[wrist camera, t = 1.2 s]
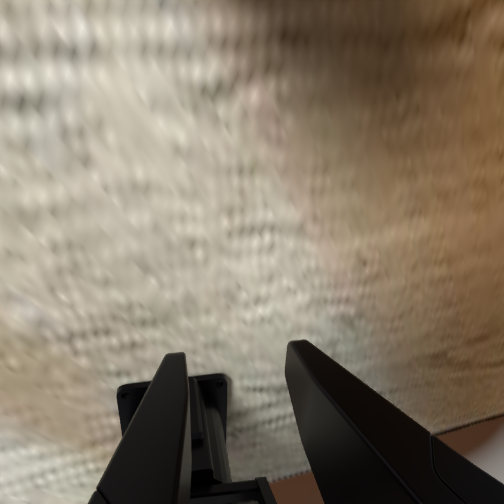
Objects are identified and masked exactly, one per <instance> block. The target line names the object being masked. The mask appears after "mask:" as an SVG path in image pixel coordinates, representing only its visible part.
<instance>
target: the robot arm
mask: <svg viewBox="0 0 504 504" xmlns="http://www.w3.org/2000/svg"><path fill="white" fill-rule="evenodd" d="M285 377H286V382H287V386H288V390H289V394H290V398H291V402H292V406H293V410H294V414H295V418H296V422H297V426H298V430H299V434H300V437H301V441H302V444H303V447H304V450H305V453H306V455H307V458H308V461H309V463H310V466H311V469H312V471H313V474H314V477H315V479H316V482H317V485H318V487H319V490H320V493H321V495H322V498H323V501H324V504H504V484H503V483H501V482H499V481H498V480H497V479H495V478H494V477H492V476H491V475H489V474H488V473H486V472H485V471H483V470H482V469H480V468H479V467H477V466H476V465H474V464H473V463H471V462H470V461H469V460H467V459H466V458H464V457H463V456H462V455H460V454H459V453H458V452H456V451H455V450H453V449H452V448H451V447H449V446H448V445H447V444H445V443H444V442H443V441H441V440H440V439H439V438H437V437H436V436H434V435H433V436H431V433H430V432H429V431H428V430H426V429H425V428H424V427H422V426H421V425H420V424H418V423H417V422H416V421H414V420H413V419H412V418H410V417H409V416H408V415H406V414H405V413H404V412H402V411H401V410H400V409H398V408H397V407H396V406H394V405H393V404H392V403H390V402H389V401H388V400H386V399H385V398H384V397H382V396H381V395H380V394H378V393H377V392H376V391H374V390H373V389H372V388H370V387H369V386H368V385H366V384H365V383H364V382H362V381H361V380H360V379H358V378H357V377H356V376H354V375H353V374H352V373H350V372H349V371H348V370H346V369H345V368H344V367H342V366H341V365H340V364H338V363H337V362H336V361H334V360H333V359H332V358H330V357H329V356H328V355H326V354H325V353H324V352H322V351H321V350H320V349H318V348H317V347H316V346H314V345H313V344H312V343H310V342H309V341H307V340H294V341H290V342H289V343H288V345H287V353H286V362H285ZM219 381H221V382H219ZM217 382H219V383H217ZM124 393H128V394H124ZM117 403H118V410H119V417H120V423H121V430H122V439H121V441H120V443H119V445H118V447H117V449H116V451H115V453H114V455H113V457H112V458H111V460H110V462H109V464H108V466H107V468H106V470H105V472H104V474H103V476H102V478H101V480H100V482H99V483H98V485H97V488H96V489H97V491H95V492H94V493H93V495H92V496H91V498H90V500H89V502H88V504H277V503H276V500H275V498H274V496H273V493H272V491H271V489H270V486H269V484H268V481H267V479H266V477H258V478H255V480H248V481H239V482H232V479H231V473H230V467H229V461H228V455H227V449H226V419H227V379H226V376H225V375H223V374H211V375H202V376H194V377H188V373H187V363H186V355H185V353H184V352H177V353H168V354H166V355H165V357H164V358H163V360H162V362H161V364H160V366H159V368H158V370H157V372H156V374H155V376H154V378H153V380H152V381H150V382H142V383H133V384H125V385H122V386H120V387H119V388H118V389H117Z"/></svg>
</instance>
